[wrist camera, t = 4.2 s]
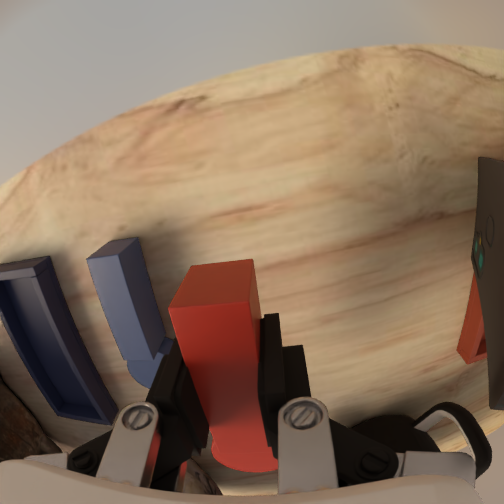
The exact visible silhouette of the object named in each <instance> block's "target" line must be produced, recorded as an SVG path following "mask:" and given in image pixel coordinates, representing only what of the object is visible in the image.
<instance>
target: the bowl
mask: <svg viewBox="0 0 504 504" xmlns="http://www.w3.org/2000/svg"><path fill="white" fill-rule="evenodd" d="M55 453H63V452H62V450H61V449H60V448H59V447H58V446H57V445H56V444H55V443H54V442H53V441H52V440H51V439H50V438H49V437H48V436H47V435H45V434H44V433H43V431H42V428H41V427H40V425H39V423H38V422H37V421H36V419H35V418H34V417H33V415H32V414H31V413H30V411H29V410H28V409H27V408H26V407H25V406H24V404H23V403H22V402H21V401H20V400H19V399H18V398H17V397H16V396H15V395H14V394H13V393H12V392H11V391H10V389H9V388H8V387H7V386H6V385H5V384H4V382H3V381H2V379H1V377H0V463H1V462H3V461H7V460H20V459H22V460H23V459H24V458H26V457H28V456H33V455H45V454H55Z"/></svg>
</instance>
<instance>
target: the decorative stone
mask: <svg viewBox="0 0 504 504" xmlns="http://www.w3.org/2000/svg"><path fill="white" fill-rule="evenodd" d="M183 493H189V494H202V495H223V494H222V493H221V491H220V489H219V488H218V486H217V485H216V483H215V482H214V481H213V480H212V479H211V478H210V477H209V475H207V474H206V473H205V472H204V471H203V470H202V469H201V468H200V467H199V465H198V464H197V463H196V462H195V461H193V460H192V459H191V458H190V459H188V460H187V468H186V474H185V480H184V487H183Z"/></svg>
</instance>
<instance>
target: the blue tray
mask: <svg viewBox="0 0 504 504" xmlns="http://www.w3.org/2000/svg"><path fill="white" fill-rule="evenodd" d="M0 317H1V320H2V322H3V324H4V326H5V328H6V330H7V332H8V334H9V336H10V338H11V340H12V342H13V344H14V346H15V348H16V350H17V352H18V354H19V356H20V357H21V359H22V361H23V363H24V365H25V366H26V368H27V370H28V372H29V373H30V375H31V377H32V378H33V380H34V381H35V383H36V385H37V386H38V388H39V389H40V391H41V393H42V394H43V396H44V397H45V399H46V400H47V402H48V403H49V405H50V406H51V407H52V409H53V410H54V412H55V413H56V415H57V416H61V417H65V418H70V419H75V420H80V421H86V422H91V423H97V424H104V425H110V426H112V424H113V422H114V419H115V417H116V415H117V412H118V408H117V406H116V405H115V403H114V401H113V400H112V398H111V396H110V394H109V393H108V391H107V389H106V387H105V385H104V383H103V382H102V380H101V378H100V376H99V374H98V372H97V370H96V368H95V366H94V364H93V362H92V360H91V358H90V356H89V354H88V352H87V350H86V348H85V346H84V344H83V342H82V339H81V337H80V335H79V333H78V331H77V328H76V326H75V324H74V321H73V319H72V316H71V314H70V312H69V309H68V307H67V304H66V302H65V299H64V296H63V294H62V291H61V288H60V286H59V283H58V280H57V277H56V274H55V271H54V268H53V265H52V262H51V259H50V256H46V257H40V258H34V259H29V260H23V261H17V262H12V263H6V264H1V265H0Z"/></svg>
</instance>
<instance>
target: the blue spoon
mask: <svg viewBox="0 0 504 504" xmlns="http://www.w3.org/2000/svg"><path fill="white" fill-rule="evenodd" d="M86 260H87V263H88V267H89V270H90V273H91V276H92V279H93V282H94V285H95V288H96V291H97V294H98V297H99V299H100V302H101V305H102V308H103V310H104V313H105V316H106V318H107V321H108V323H109V326H110V328H111V331H112V333H113V336H114V338H115V341H116V343H117V345H118V348H119V350H120V352H121V355H122V357H123V359H124V360H127V367H128V370H129V372H130V374H131V376H132V377H133V378H134V379H135V380H136V381H137V382H138V383H140V384H141V385H143V386H144V387H146V388H149V389H150V388H151V385H152V383H153V380H154V377H155V375H156V372H157V370H158V367H159V365H160V362H161V360H162V357H163V356H164V355H165V354H169V352H170V350H171V347H172V345H173V342H174V341H172V340H171V339H169V338H167V337H165V334H166V332H165V329H164V326H163V323H162V320H161V317H160V314H159V310H158V307H157V304H156V301H155V297H154V294H153V290H152V287H151V283H150V280H149V276H148V273H147V269H146V265H145V262H144V258H143V254H142V250H141V246H140V242H139V238H138V237H135V238H129V239H122V240H116V241H110V242H108V243H106V244H105V245H104V246H103V247H101V248H100V249H99V250H97V251H96V252H95V253H93V254H92V255H91V256H90V257H88V258H87V259H86Z"/></svg>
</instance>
